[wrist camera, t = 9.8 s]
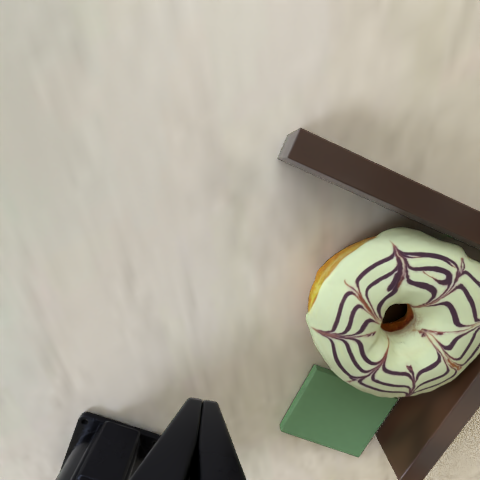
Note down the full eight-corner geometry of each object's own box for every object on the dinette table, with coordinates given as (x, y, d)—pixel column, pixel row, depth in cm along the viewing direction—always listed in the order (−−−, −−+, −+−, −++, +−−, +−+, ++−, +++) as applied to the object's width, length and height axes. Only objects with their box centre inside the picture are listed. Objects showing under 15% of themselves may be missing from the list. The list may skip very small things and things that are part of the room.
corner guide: (391, 440, 23) (417, 487, 20) (184, 368, 21) (174, 407, 18) (528, 245, 19) (591, 263, 16) (287, 134, 17) (300, 127, 14)
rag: (355, 450, 23) (359, 457, 23) (279, 424, 23) (280, 431, 22) (394, 393, 22) (398, 399, 21) (314, 363, 21) (316, 369, 21)
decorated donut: (374, 192, 18) (410, 199, 14) (490, 285, 20) (548, 312, 16) (272, 315, 20) (280, 348, 16) (385, 390, 22) (415, 435, 18)
